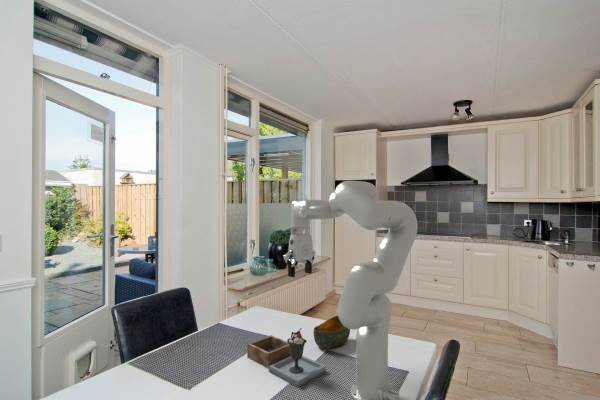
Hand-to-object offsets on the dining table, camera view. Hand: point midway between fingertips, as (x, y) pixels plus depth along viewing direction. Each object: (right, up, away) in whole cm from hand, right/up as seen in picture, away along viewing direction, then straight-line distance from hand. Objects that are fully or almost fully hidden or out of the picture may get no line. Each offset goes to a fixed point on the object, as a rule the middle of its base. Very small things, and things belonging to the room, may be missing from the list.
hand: (300, 274), depth 129 cm
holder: (-11, -30, -5) cm, 33 cm away
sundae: (-1, -29, -16) cm, 34 cm away
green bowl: (+14, -31, +8) cm, 35 cm away
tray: (-1, -30, -16) cm, 34 cm away
